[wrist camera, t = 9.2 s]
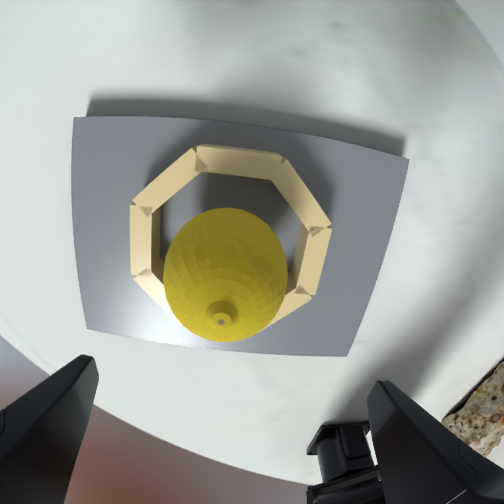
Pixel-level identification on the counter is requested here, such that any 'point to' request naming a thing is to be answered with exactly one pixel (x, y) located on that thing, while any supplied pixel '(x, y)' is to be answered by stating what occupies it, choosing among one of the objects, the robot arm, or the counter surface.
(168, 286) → the lemon
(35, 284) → the counter surface
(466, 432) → the rock
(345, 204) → the plate
